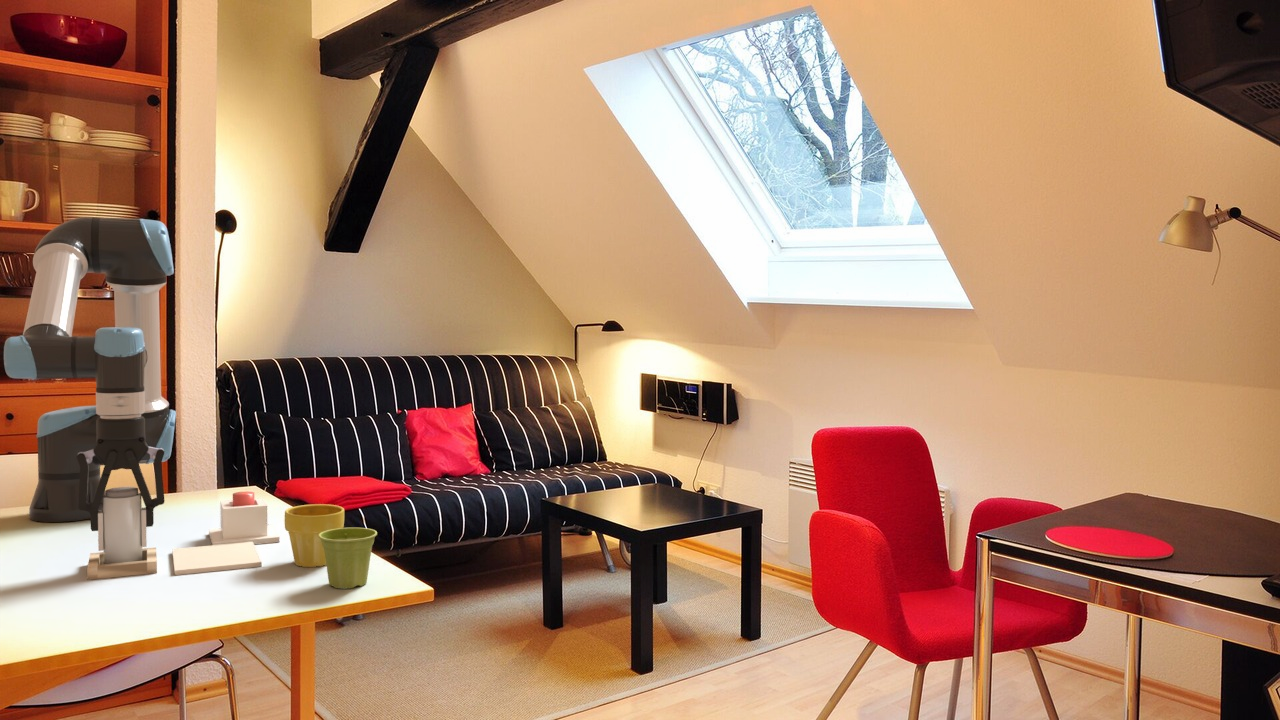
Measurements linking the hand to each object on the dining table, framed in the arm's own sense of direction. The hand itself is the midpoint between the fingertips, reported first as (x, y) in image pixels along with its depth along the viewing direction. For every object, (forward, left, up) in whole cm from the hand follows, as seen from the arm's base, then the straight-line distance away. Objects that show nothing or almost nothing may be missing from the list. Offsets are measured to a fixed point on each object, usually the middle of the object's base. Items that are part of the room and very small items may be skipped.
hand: (122, 546), depth 171 cm
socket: (0, 0, -4) cm, 4 cm away
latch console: (-15, +21, -4) cm, 26 cm away
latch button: (-15, +21, 0) cm, 26 cm away
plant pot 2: (+25, +34, -4) cm, 42 cm away
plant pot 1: (+9, +31, -4) cm, 33 cm away
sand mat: (0, +15, -4) cm, 15 cm away
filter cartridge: (0, 0, -4) cm, 4 cm away
